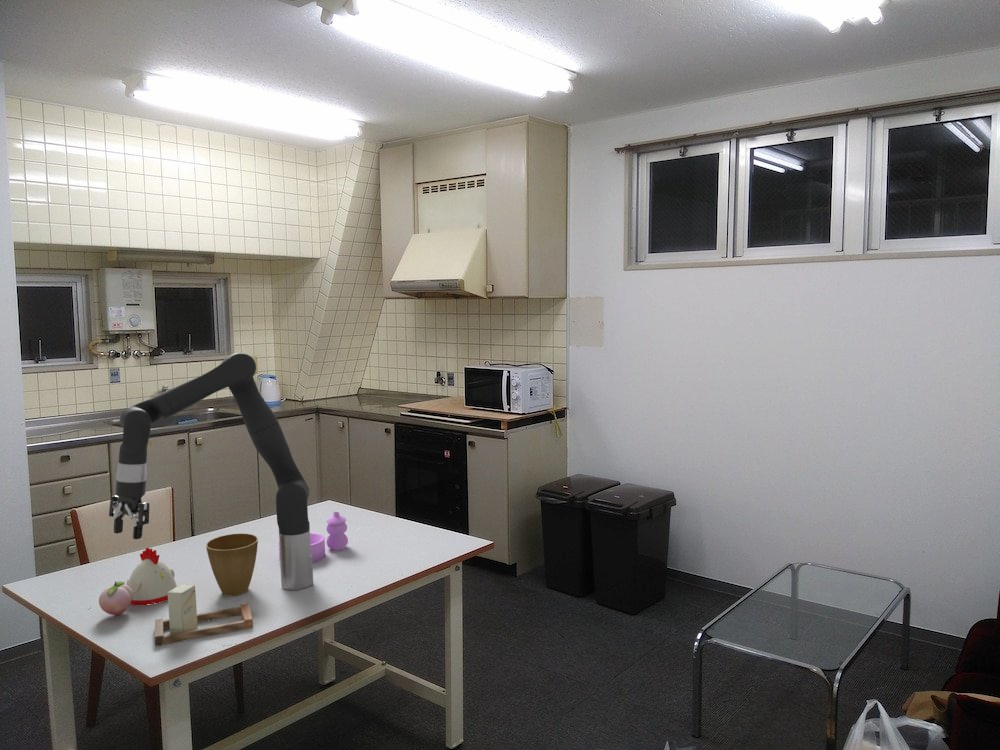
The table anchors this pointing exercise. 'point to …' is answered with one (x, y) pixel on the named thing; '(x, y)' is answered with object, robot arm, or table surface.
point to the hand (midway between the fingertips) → (127, 535)
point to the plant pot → (233, 561)
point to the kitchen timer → (151, 580)
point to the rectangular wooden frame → (206, 631)
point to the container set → (329, 537)
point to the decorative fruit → (116, 598)
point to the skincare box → (182, 608)
